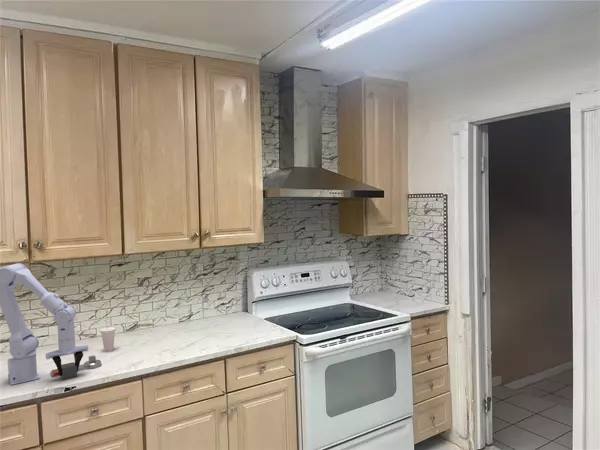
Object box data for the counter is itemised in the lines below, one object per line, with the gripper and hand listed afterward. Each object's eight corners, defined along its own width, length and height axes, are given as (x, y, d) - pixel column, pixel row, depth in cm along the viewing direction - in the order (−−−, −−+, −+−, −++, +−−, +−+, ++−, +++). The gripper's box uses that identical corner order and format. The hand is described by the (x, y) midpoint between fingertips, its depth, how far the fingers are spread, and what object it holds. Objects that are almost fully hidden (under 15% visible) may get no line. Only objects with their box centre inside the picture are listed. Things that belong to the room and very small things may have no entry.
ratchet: (52, 378, 177) (52, 367, 176) (49, 373, 182) (49, 363, 182) (102, 367, 188) (102, 356, 187) (98, 362, 193) (98, 352, 193)
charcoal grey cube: (62, 380, 174) (62, 368, 174) (60, 376, 178) (59, 365, 178) (77, 377, 177) (76, 365, 177) (74, 373, 181) (73, 362, 181)
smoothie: (99, 350, 209) (97, 319, 208) (113, 346, 213) (111, 316, 212) (104, 353, 204) (103, 322, 203) (119, 349, 208) (117, 319, 208)
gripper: (47, 344, 169) (49, 381, 170) (89, 336, 178) (91, 371, 179) (43, 340, 175) (45, 375, 175) (85, 332, 183) (86, 366, 184)
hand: (68, 373), depth 177 cm, fingers closed on charcoal grey cube, 5 cm apart
